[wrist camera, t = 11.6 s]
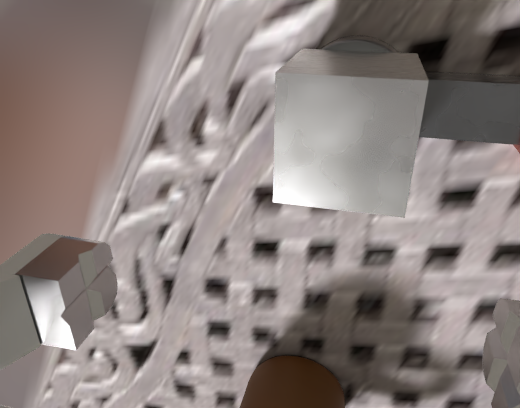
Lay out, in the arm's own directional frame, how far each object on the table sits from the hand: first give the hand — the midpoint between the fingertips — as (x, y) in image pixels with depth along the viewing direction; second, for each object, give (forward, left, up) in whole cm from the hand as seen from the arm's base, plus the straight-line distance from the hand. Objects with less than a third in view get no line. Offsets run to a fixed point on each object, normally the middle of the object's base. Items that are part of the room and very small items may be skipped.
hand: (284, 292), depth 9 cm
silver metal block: (0, 0, -14) cm, 15 cm away
